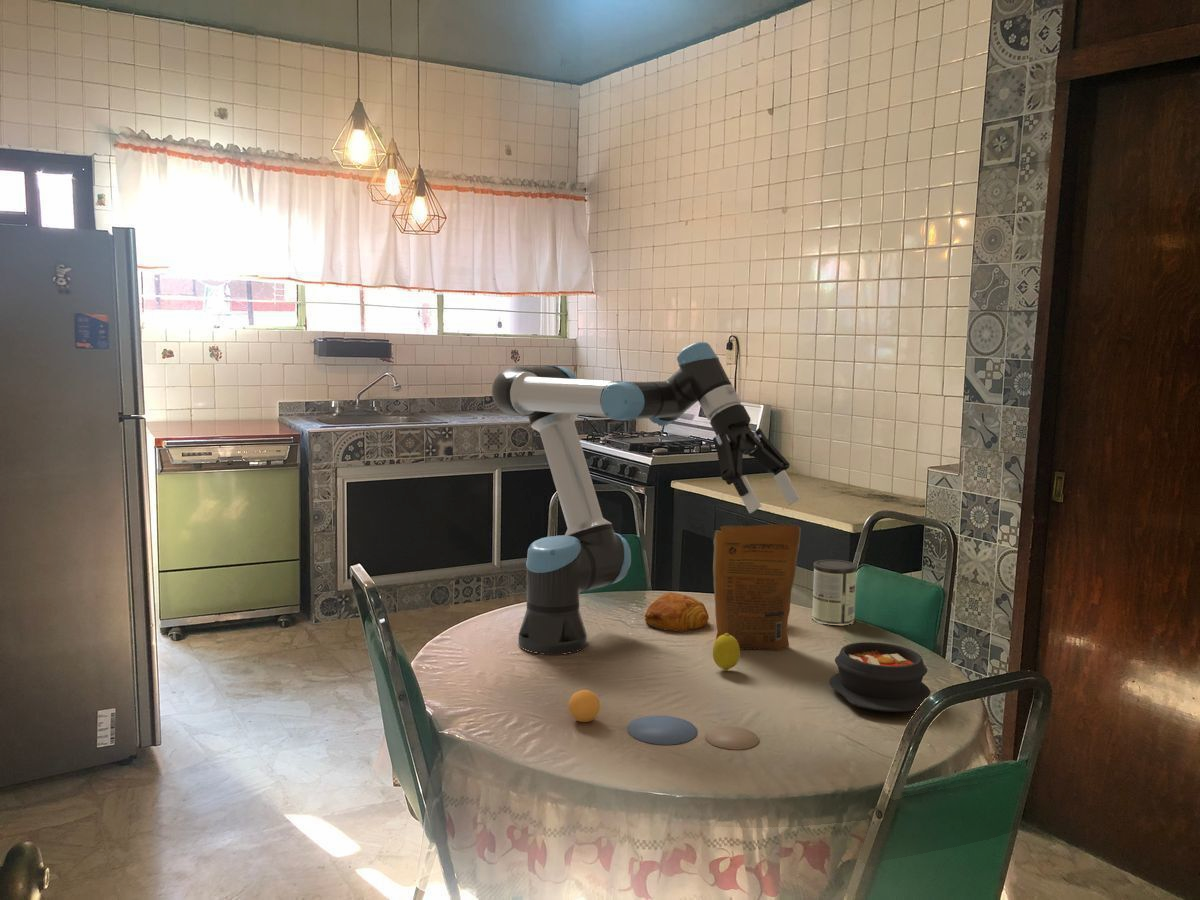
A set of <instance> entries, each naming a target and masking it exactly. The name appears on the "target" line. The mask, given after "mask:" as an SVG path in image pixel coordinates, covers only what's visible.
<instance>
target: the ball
mask: <svg viewBox="0 0 1200 900" xmlns="http://www.w3.org/2000/svg"><path fill="white" fill-rule="evenodd" d="M600 709H601V703H600V699H599V698H598V696H597V694H595V693H594V692H593V691H591V690H588V689H580V690H578V691H576V692H574V693H573V694H572V695H571V697H570V699H569V702H568V711H569V713H570V715H571V716H572V718H573V719H575V720H576V721H578V722H581V723H588V722H591V721H593V720H594V719H595V718H596V717H597V716H598V714H599V713H600Z"/></svg>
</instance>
